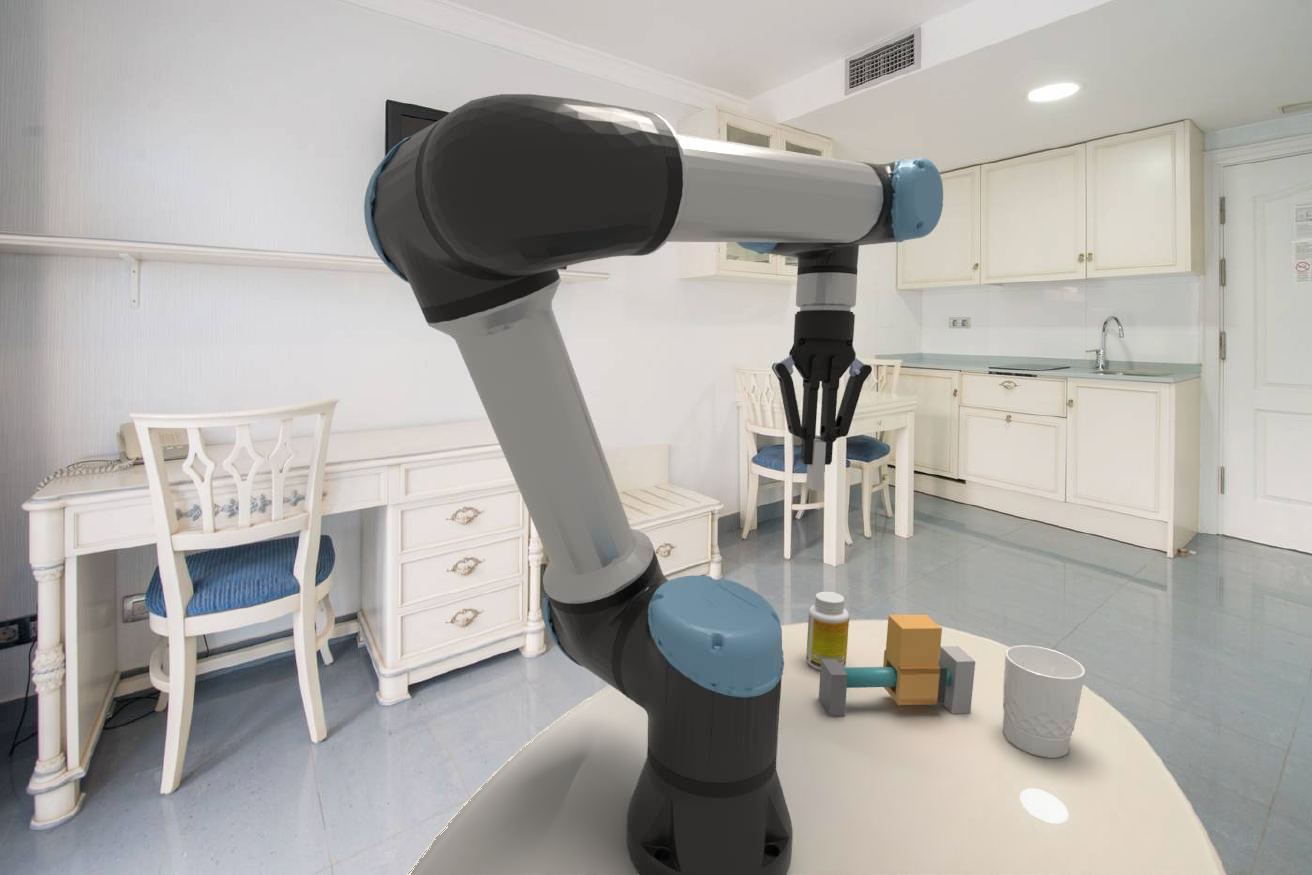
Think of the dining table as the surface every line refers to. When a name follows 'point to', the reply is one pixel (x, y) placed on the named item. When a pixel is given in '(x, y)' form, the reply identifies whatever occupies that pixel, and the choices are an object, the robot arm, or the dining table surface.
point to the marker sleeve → (913, 658)
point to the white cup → (1041, 699)
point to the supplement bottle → (827, 630)
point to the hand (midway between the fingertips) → (814, 488)
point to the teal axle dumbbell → (950, 691)
